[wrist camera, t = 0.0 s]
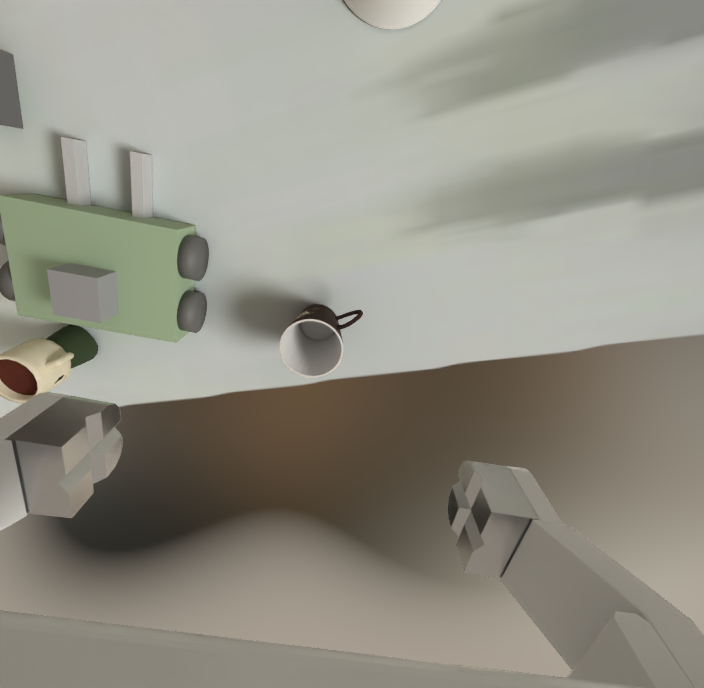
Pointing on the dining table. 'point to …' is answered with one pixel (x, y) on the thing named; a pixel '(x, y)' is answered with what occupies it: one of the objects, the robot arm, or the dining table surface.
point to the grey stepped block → (9, 93)
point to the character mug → (43, 363)
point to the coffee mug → (314, 341)
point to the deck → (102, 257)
